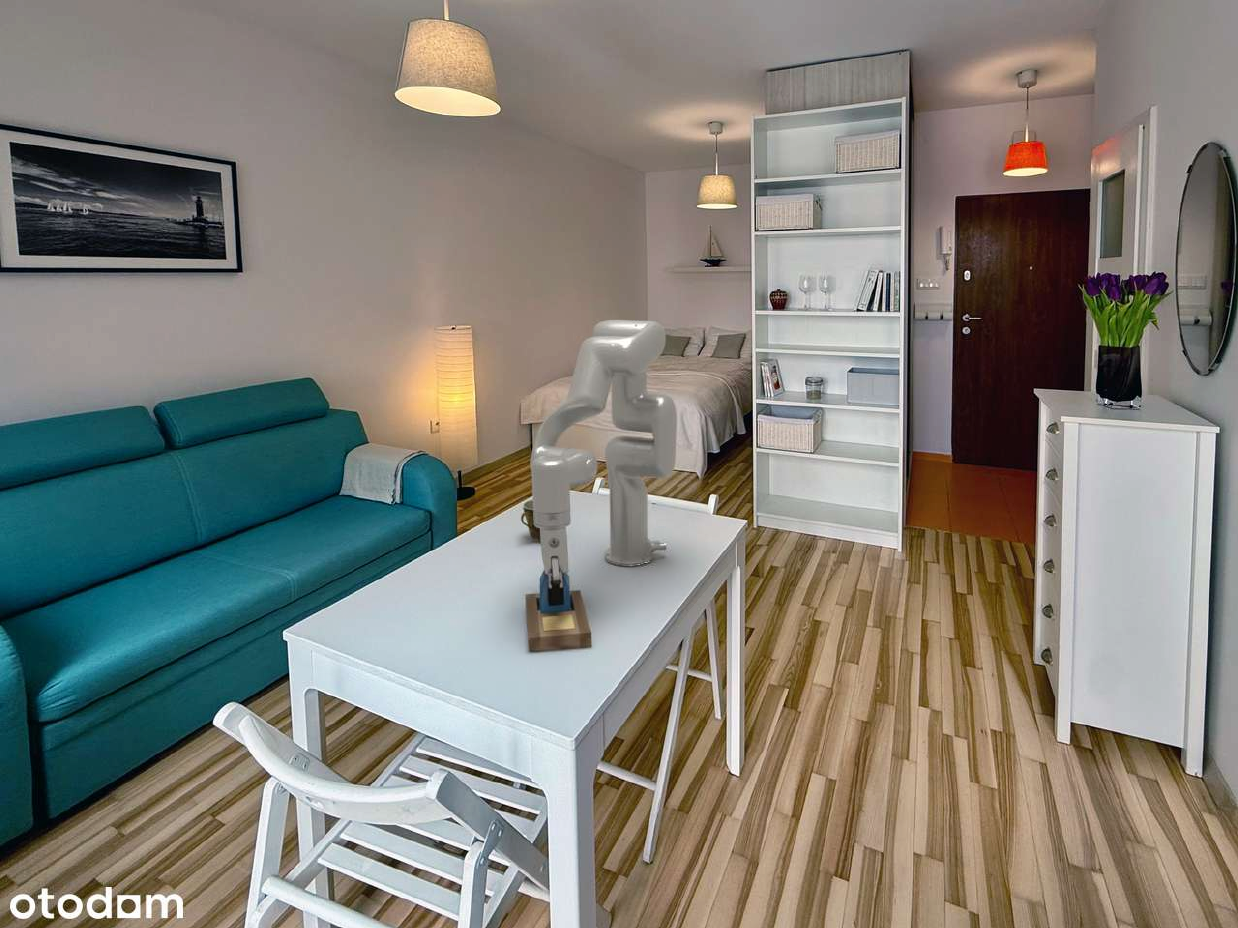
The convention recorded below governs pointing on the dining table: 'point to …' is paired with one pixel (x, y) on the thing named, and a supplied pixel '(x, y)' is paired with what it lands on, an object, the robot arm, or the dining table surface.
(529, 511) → the ceramic cup
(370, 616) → the dining table surface
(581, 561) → the dining table surface
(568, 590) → the perfume bottle
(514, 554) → the dining table surface
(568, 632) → the frame
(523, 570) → the dining table surface
